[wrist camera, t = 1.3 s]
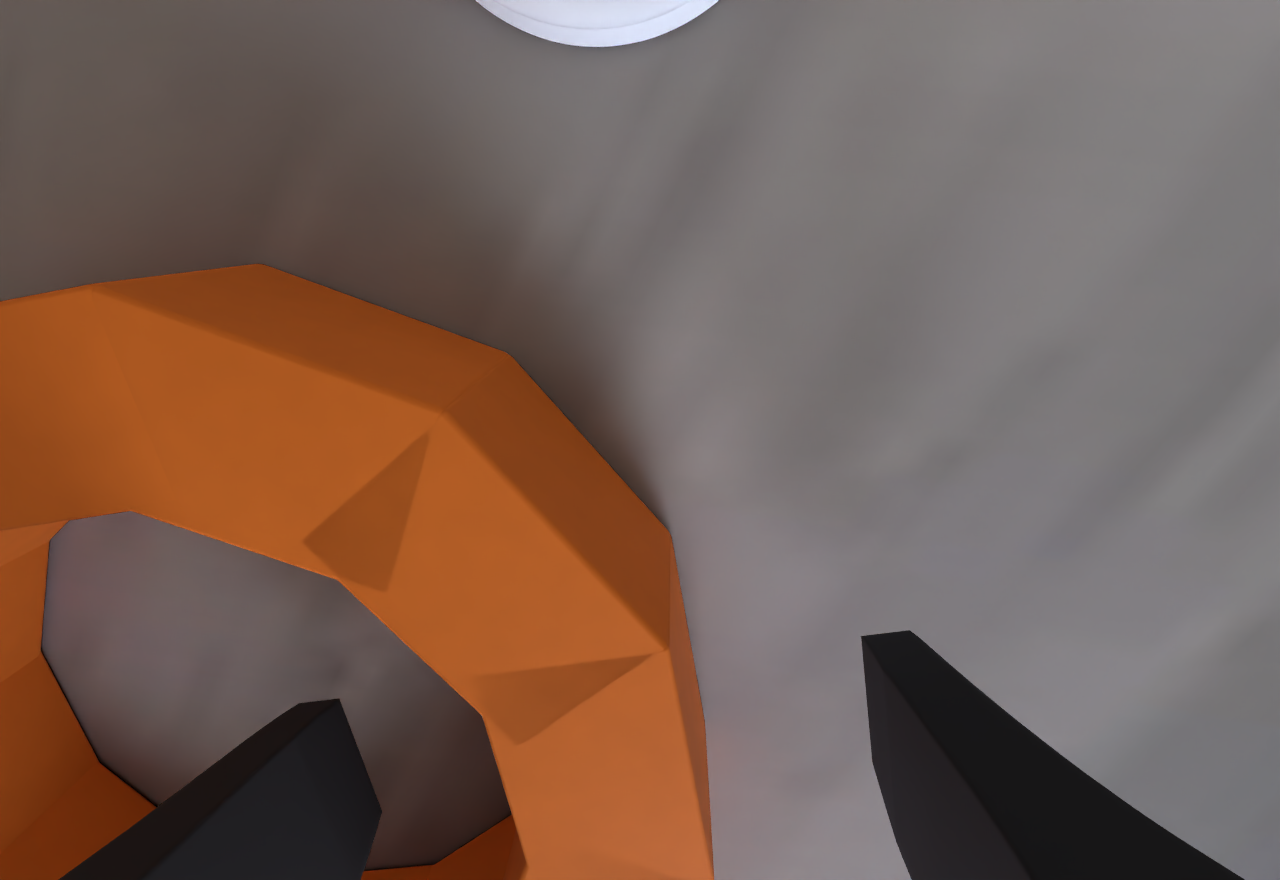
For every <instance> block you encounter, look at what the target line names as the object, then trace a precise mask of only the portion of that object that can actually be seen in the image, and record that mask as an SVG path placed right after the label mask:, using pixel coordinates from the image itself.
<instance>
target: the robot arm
mask: <svg viewBox="0 0 1280 880" xmlns="http://www.w3.org/2000/svg"><path fill="white" fill-rule="evenodd" d="M861 638H862V650H863V661H864V672H865V683H866V695H867V706H868V717H869V728H870V740H871V751H872V762H873V765H874V769H875V772H876V776H877V779H878V782H879V786H880V789H881V793H882V796H883V799H884V803H885V806H886V809H887V813H888V816H889V819H890V822H891V826H892V829H893V832H894V835H895V839H896V842H897V845H898V847H899V849H900V852H901V854H902V857H903V859H904V862H905V864H906V867H907V869H908V872H909V874H910V876H911V879H912V880H1244V879H1243V878H1241V877H1240V876H1238V875H1236V874H1235V873H1233V872H1232V871H1230V870H1228V869H1227V868H1225V867H1224V866H1222V865H1221V864H1219V863H1217V862H1216V861H1214V860H1213V859H1211V858H1209V857H1208V856H1206V855H1205V854H1203V853H1202V852H1200V851H1198V850H1197V849H1195V848H1194V847H1192V846H1190V845H1189V844H1187V843H1186V842H1184V841H1182V840H1181V839H1179V838H1178V837H1176V836H1175V835H1173V834H1172V833H1170V832H1169V831H1167V830H1166V829H1164V828H1163V827H1161V826H1160V825H1158V824H1157V823H1155V822H1154V821H1152V820H1151V819H1149V818H1148V817H1146V816H1145V815H1143V814H1142V813H1140V812H1139V811H1137V810H1136V809H1134V808H1133V807H1132V806H1130V805H1129V804H1127V803H1126V802H1125V801H1123V800H1122V799H1121V798H1119V797H1118V796H1116V795H1115V794H1114V793H1112V792H1111V791H1109V790H1108V789H1107V788H1105V787H1104V786H1102V785H1101V784H1100V783H1098V782H1097V781H1095V780H1094V779H1093V778H1091V777H1090V776H1088V775H1087V774H1086V773H1084V772H1083V771H1082V770H1080V769H1079V768H1078V767H1076V766H1075V765H1074V764H1072V763H1071V762H1070V761H1068V760H1067V759H1066V758H1064V757H1063V756H1062V755H1060V754H1059V753H1058V752H1056V751H1055V750H1054V749H1053V748H1051V747H1050V746H1049V745H1047V744H1046V743H1045V742H1044V741H1042V740H1041V739H1040V738H1039V737H1037V736H1036V735H1035V734H1034V733H1032V732H1031V731H1030V730H1028V729H1027V728H1026V727H1025V726H1023V725H1022V724H1021V723H1020V722H1018V721H1017V720H1016V719H1014V718H1013V717H1012V716H1011V715H1009V714H1008V713H1007V712H1006V711H1004V710H1003V709H1002V708H1001V707H1000V706H998V705H997V704H996V703H995V702H994V701H992V700H991V699H990V698H989V697H987V696H986V695H985V694H984V693H983V692H982V691H980V690H979V689H978V688H977V687H976V686H974V685H973V684H972V683H971V682H970V681H969V680H967V679H966V678H965V677H964V676H963V675H961V674H960V673H959V672H958V671H957V670H956V669H955V668H953V667H952V666H951V665H950V664H949V663H948V662H946V661H945V660H944V659H943V658H942V657H941V656H940V655H938V654H937V653H936V652H935V651H934V650H933V649H932V648H930V647H929V646H928V645H927V644H926V643H925V642H924V641H922V640H921V639H920V638H919V637H918V636H916V635H915V634H914V633H912V632H911V631H910V630H909V631H901V632H892V633H884V634H875V635H867V636H861ZM381 813H382V810H381V807H380V805H379V802H378V800H377V797H376V794H375V792H374V789H373V786H372V784H371V781H370V778H369V776H368V773H367V771H366V768H365V765H364V763H363V760H362V757H361V755H360V752H359V749H358V747H357V744H356V742H355V739H354V736H353V734H352V731H351V728H350V726H349V723H348V721H347V718H346V715H345V713H344V710H343V707H342V705H341V702H340V699H332V700H324V701H315V702H307V703H299V704H297V705H296V706H294V707H293V708H291V709H290V710H288V711H286V712H285V713H283V714H282V715H280V716H279V717H277V718H276V719H274V720H273V721H272V722H270V723H269V724H267V725H266V726H265V727H263V728H262V729H260V730H259V731H258V732H256V733H255V734H254V735H252V736H251V737H249V738H248V739H247V740H245V741H244V742H243V743H241V744H240V745H239V746H237V747H236V748H235V749H233V750H232V751H231V752H229V753H228V754H227V755H225V756H224V757H223V758H221V759H220V760H219V761H217V762H216V763H215V764H214V765H212V766H211V767H210V768H208V769H207V770H206V771H204V772H203V773H202V774H200V775H199V776H198V777H196V778H195V779H194V780H192V781H191V782H190V783H188V784H187V785H186V786H185V787H183V788H182V789H181V790H179V791H178V792H177V793H175V794H174V795H173V796H171V797H170V798H169V799H167V800H166V801H165V802H163V803H162V804H161V805H159V806H158V807H157V808H155V809H154V810H153V811H152V812H150V813H149V814H148V815H146V816H145V817H144V818H142V819H141V820H140V821H138V822H137V823H136V824H134V825H133V826H132V827H130V828H129V829H128V830H126V831H125V832H123V833H122V834H121V835H119V836H118V837H116V838H115V839H114V840H112V841H111V842H110V843H108V844H107V845H105V846H104V847H103V848H101V849H100V850H99V851H97V852H96V853H94V854H93V855H92V856H90V857H89V858H87V859H86V860H85V861H83V862H82V863H81V864H79V865H78V866H76V867H75V868H74V869H72V870H71V871H69V872H68V873H67V874H65V875H64V876H63V877H61V878H60V879H58V880H361V877H362V874H363V871H364V868H365V865H366V862H367V859H368V856H369V853H370V850H371V847H372V843H373V840H374V837H375V833H376V830H377V826H378V823H379V820H380V816H381Z"/></svg>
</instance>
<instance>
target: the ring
mask: <svg viewBox="0 0 1280 880" xmlns="http://www.w3.org/2000/svg"><path fill="white" fill-rule="evenodd" d="M127 511H133V512H136V513H139V514H142V515H145V516H148V517H151V518H154V519H157V520H160V521H163V522H166V523H169V524H172V525H175V526H178V527H181V528H184V529H187V530H190V531H193V532H196V533H199V534H202V535H205V536H208V537H211V538H214V539H217V540H220V541H223V542H226V543H229V544H232V545H235V546H238V547H241V548H244V549H247V550H249V551H252V552H255V553H258V554H261V555H264V556H267V557H270V558H273V559H276V560H279V561H282V562H285V563H288V564H291V565H294V566H297V567H300V568H303V569H306V570H309V571H312V572H315V573H318V574H321V575H324V576H327V577H330V578H333V579H336V580H338V581H339V582H340V583H341V584H342V585H343V586H344V587H345V588H346V589H347V590H349V591H350V592H351V593H352V594H353V595H354V596H355V597H356V598H357V599H358V600H359V601H360V602H361V603H362V604H364V605H365V606H366V607H367V608H368V609H369V610H370V611H371V612H372V613H373V614H374V615H375V616H376V617H377V618H378V619H380V620H381V621H382V622H383V623H384V624H385V625H386V626H387V627H388V628H389V629H390V630H391V631H392V632H393V633H394V634H396V635H397V636H398V637H399V638H400V639H401V640H402V641H403V642H404V643H405V644H406V645H407V646H408V647H409V648H410V649H412V650H413V651H414V652H415V653H416V654H417V655H418V656H419V657H420V658H421V659H422V660H423V661H424V662H425V663H426V664H428V665H429V666H430V667H431V668H432V669H433V670H434V671H435V672H436V673H437V674H438V675H439V676H440V677H441V678H442V679H444V680H445V681H446V682H447V683H448V684H449V685H450V686H451V687H452V688H453V689H454V690H455V691H456V692H457V693H458V694H460V695H461V696H462V697H463V698H464V699H465V700H466V701H467V702H468V703H469V704H470V705H471V706H472V707H473V708H474V709H476V710H477V711H478V712H479V713H480V714H481V715H482V717H483V720H484V724H485V727H486V730H487V734H488V737H489V740H490V743H491V747H492V750H493V753H494V757H495V760H496V763H497V767H498V770H499V773H500V777H501V780H502V783H503V787H504V790H505V793H506V796H507V800H508V803H509V806H510V810H511V813H512V815H510V816H509V817H507V818H505V819H504V820H502V821H501V822H499V823H498V824H496V825H495V826H493V827H492V828H490V829H489V830H487V831H485V832H484V833H482V834H481V835H479V836H478V837H476V838H475V839H473V840H472V841H470V842H469V843H467V844H465V845H464V846H462V847H461V848H459V849H458V850H456V851H455V852H453V853H452V854H450V855H449V856H447V857H445V858H444V859H442V860H441V861H439V862H438V863H436V864H435V865H425V866H414V867H403V868H393V869H382V870H371V871H363V874H362V877H361V880H714V868H713V851H712V834H711V817H710V800H709V783H708V766H707V750H706V733H705V720H704V715H703V709H702V704H701V698H700V693H699V687H698V682H697V676H696V670H695V665H694V659H693V654H692V648H691V643H690V637H689V632H688V626H687V620H686V615H685V609H684V604H683V598H682V593H681V587H680V582H679V576H678V571H677V565H676V559H675V554H674V548H673V543H672V537H671V535H670V533H669V531H668V530H667V529H666V528H665V527H664V526H663V525H662V523H661V522H660V521H659V520H658V519H657V518H656V517H655V516H654V514H653V513H652V512H651V511H650V510H649V509H648V508H647V507H646V506H645V504H644V503H643V502H642V501H641V500H640V499H639V498H638V497H637V496H636V494H635V493H634V492H633V491H632V490H631V489H630V488H629V487H628V486H627V484H626V483H625V482H624V481H623V480H622V479H621V478H620V477H619V475H618V474H617V473H616V472H615V471H614V470H613V469H612V468H611V467H610V465H609V464H608V463H607V462H606V461H605V460H604V459H603V458H602V457H601V455H600V454H599V453H598V452H597V451H596V450H595V449H594V448H593V446H592V445H591V444H590V443H589V442H588V441H587V440H586V439H585V438H584V436H583V435H582V434H581V433H580V432H579V431H578V430H577V429H576V428H575V426H574V425H573V424H572V423H571V422H570V421H569V420H568V419H567V418H566V416H565V415H564V414H563V413H562V412H561V411H560V410H559V409H558V407H557V406H556V405H555V404H554V403H553V402H552V401H551V400H550V399H549V397H548V396H547V395H546V394H545V393H544V392H543V391H542V390H541V389H540V387H539V386H538V385H537V384H536V383H535V382H534V381H533V380H532V379H531V377H530V376H529V375H528V374H527V373H526V372H525V371H524V370H523V368H522V367H521V366H520V365H519V364H518V363H517V362H516V361H515V360H514V358H513V357H512V356H510V355H508V354H507V353H506V352H504V351H501V350H498V349H495V348H493V347H490V346H487V345H484V344H482V343H479V342H476V341H473V340H471V339H468V338H465V337H462V336H460V335H457V334H454V333H451V332H449V331H446V330H443V329H440V328H438V327H435V326H432V325H429V324H426V323H424V322H421V321H418V320H415V319H413V318H410V317H407V316H404V315H402V314H399V313H396V312H393V311H391V310H388V309H385V308H382V307H380V306H377V305H374V304H371V303H369V302H366V301H363V300H360V299H358V298H355V297H352V296H349V295H347V294H344V293H341V292H338V291H336V290H333V289H330V288H327V287H325V286H322V285H319V284H316V283H314V282H311V281H308V280H305V279H303V278H300V277H297V276H294V275H292V274H289V273H286V272H283V271H281V270H278V269H275V268H272V267H270V266H267V265H264V264H250V265H242V266H234V267H226V268H218V269H209V270H201V271H193V272H185V273H176V274H168V275H160V276H152V277H143V278H135V279H127V280H119V281H111V282H102V283H94V284H88V285H83V286H77V287H72V288H67V289H62V290H57V291H51V292H46V293H41V294H36V295H31V296H26V297H20V298H15V299H10V300H5V301H0V880H58V879H60V878H61V877H63V876H64V875H65V874H67V873H68V872H69V871H71V870H72V869H74V868H75V867H76V866H78V865H79V864H81V863H82V862H83V861H85V860H86V859H87V858H89V857H90V856H92V855H93V854H94V853H96V852H97V851H99V850H100V849H101V848H103V847H104V846H105V845H107V844H108V843H110V842H111V841H112V840H114V839H115V838H116V837H118V836H119V835H121V834H122V833H123V832H125V831H126V830H128V829H129V828H130V827H132V826H133V825H134V824H136V823H137V822H138V821H140V820H141V819H142V818H144V817H145V816H146V815H148V814H149V813H150V812H152V811H153V810H154V809H155V808H157V807H156V806H154V805H153V804H152V803H150V802H149V801H148V800H147V799H145V798H144V797H143V796H141V795H140V794H139V793H138V792H136V791H135V790H134V789H132V788H131V787H130V786H129V785H127V784H126V783H125V782H123V781H122V780H121V779H120V778H118V777H117V776H116V775H115V774H113V773H112V772H111V771H109V770H108V769H107V768H106V767H104V766H103V765H102V764H100V763H99V761H98V759H97V757H96V755H95V753H94V751H93V749H92V747H91V745H90V744H89V742H88V740H87V738H86V736H85V734H84V732H83V730H82V728H81V726H80V725H79V723H78V721H77V719H76V717H75V715H74V713H73V711H72V709H71V707H70V706H69V704H68V702H67V700H66V698H65V696H64V694H63V692H62V690H61V688H60V687H59V685H58V683H57V681H56V679H55V677H54V675H53V673H52V671H51V669H50V668H49V666H48V664H47V662H46V660H45V658H44V656H43V654H42V652H41V641H42V628H43V616H44V603H45V591H46V579H47V566H48V554H49V542H50V539H51V538H52V537H53V536H54V535H55V534H56V533H57V532H58V531H59V530H60V529H61V528H62V527H63V526H64V525H65V524H66V523H67V522H68V521H69V520H75V519H81V518H88V517H94V516H101V515H107V514H114V513H120V512H127Z"/></svg>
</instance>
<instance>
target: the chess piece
mask: <svg viewBox="0 0 1280 880" xmlns="http://www.w3.org/2000/svg"><path fill="white" fill-rule="evenodd" d="M475 1H476V2H478V3H479V4H480V5H481V6H483V7H484V8H485V9H487V10H488V11H489V12H491V13H492V14H494V15H495V16H497V17H498V18H500V19H502V20H503V21H505V22H507V23H509V24H510V25H512V26H514V27H516V28H518V29H520V30H522V31H525V32H527V33H529V34H532V35H534V36H537V37H540V38H543V39H546V40H550V41H554V42H558V43H563V44H568V45H575V46H585V47H609V46H619V45H626V44H631V43H636V42H640V41H644V40H647V39H651V38H654V37H657V36H659V35H662V34H664V33H667V32H669V31H671V30H674V29H676V28H678V27H680V26H682V25H684V24H685V23H687V22H689V21H691V20H692V19H694V18H696V17H697V16H699V15H700V14H702V13H703V12H704V11H706V10H707V9H709V8H710V7H711V6H713V5H714V4H715V3H716V2H718V1H719V0H475Z"/></svg>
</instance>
